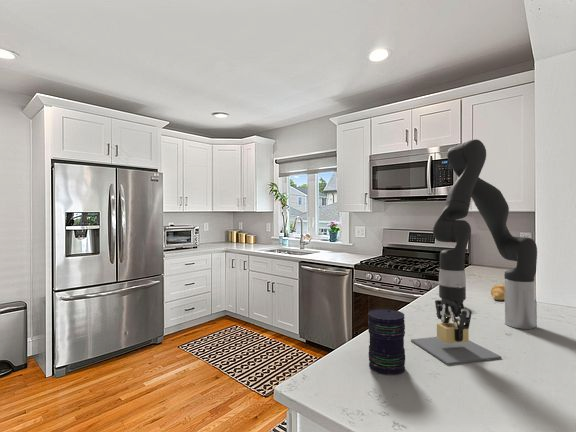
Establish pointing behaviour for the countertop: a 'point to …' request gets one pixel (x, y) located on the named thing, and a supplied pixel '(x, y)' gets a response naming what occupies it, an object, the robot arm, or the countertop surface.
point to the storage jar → (386, 341)
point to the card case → (450, 333)
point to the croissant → (498, 292)
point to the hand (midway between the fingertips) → (452, 337)
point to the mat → (455, 351)
